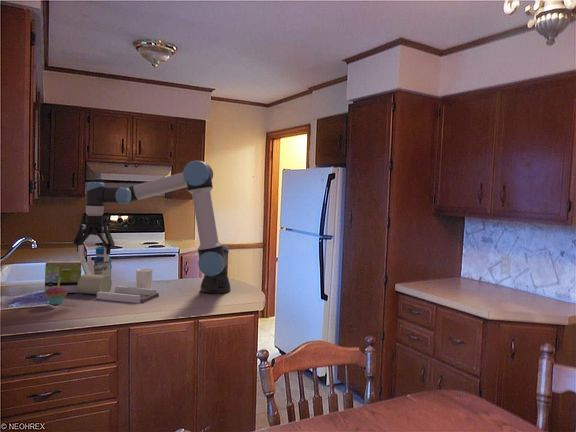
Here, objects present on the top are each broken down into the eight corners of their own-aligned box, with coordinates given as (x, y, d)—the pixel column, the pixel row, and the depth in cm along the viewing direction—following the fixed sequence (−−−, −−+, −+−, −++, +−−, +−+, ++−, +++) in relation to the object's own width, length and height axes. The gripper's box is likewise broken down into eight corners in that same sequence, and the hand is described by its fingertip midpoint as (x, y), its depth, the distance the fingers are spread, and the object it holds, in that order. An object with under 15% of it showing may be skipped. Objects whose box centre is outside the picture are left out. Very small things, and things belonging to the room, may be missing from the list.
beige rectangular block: (111, 273, 203) (89, 272, 205) (99, 277, 194) (76, 275, 196) (111, 292, 204) (89, 290, 206) (99, 297, 195) (76, 295, 197)
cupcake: (71, 302, 185) (72, 274, 184) (56, 306, 176) (57, 277, 176) (54, 300, 186) (55, 273, 186) (39, 304, 178) (39, 276, 178)
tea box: (44, 294, 196) (44, 262, 195) (46, 289, 205) (47, 259, 205) (80, 292, 202) (81, 261, 202) (81, 288, 211) (81, 258, 211)
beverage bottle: (114, 286, 219) (115, 247, 218) (104, 289, 210) (105, 249, 209) (99, 285, 220) (100, 246, 219) (89, 288, 212) (90, 248, 211)
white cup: (149, 292, 209) (149, 272, 208) (133, 291, 209) (133, 271, 208) (154, 288, 216) (154, 269, 216) (139, 288, 217) (139, 268, 216)
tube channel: (156, 295, 202) (156, 289, 202) (139, 303, 187) (139, 296, 187) (116, 292, 206) (116, 285, 206) (96, 298, 192) (96, 292, 191)
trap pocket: (158, 296, 201) (158, 292, 201) (143, 302, 188) (143, 299, 188) (147, 295, 202) (147, 291, 202) (131, 301, 189) (131, 298, 189)
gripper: (123, 216, 200) (121, 261, 201) (76, 213, 205) (75, 257, 206) (113, 216, 193) (112, 263, 194) (65, 213, 198) (64, 259, 199)
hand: (93, 260), depth 200 cm, fingers open, 13 cm apart
